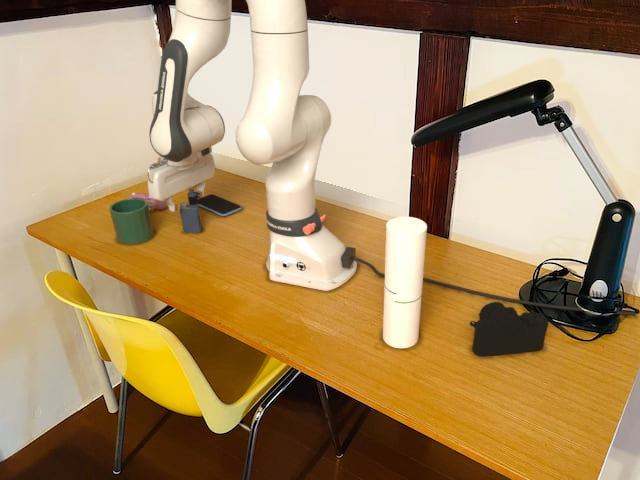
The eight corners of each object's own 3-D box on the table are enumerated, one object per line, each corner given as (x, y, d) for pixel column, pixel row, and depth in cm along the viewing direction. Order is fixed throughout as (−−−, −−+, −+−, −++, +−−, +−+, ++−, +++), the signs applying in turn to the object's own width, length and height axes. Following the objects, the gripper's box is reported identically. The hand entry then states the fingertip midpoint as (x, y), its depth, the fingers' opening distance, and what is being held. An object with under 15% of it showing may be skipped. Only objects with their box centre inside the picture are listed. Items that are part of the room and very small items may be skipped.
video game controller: (133, 213, 158) (121, 198, 152) (140, 201, 160) (128, 186, 154) (162, 217, 155) (151, 202, 149) (168, 205, 157) (158, 190, 152)
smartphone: (211, 193, 164) (243, 206, 156) (212, 195, 165) (243, 209, 157) (191, 200, 160) (223, 214, 151) (191, 203, 160) (223, 217, 152)
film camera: (527, 322, 111) (535, 286, 106) (548, 352, 103) (557, 315, 98) (457, 328, 109) (462, 292, 104) (472, 360, 101) (478, 322, 96)
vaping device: (201, 233, 144) (194, 192, 138) (182, 232, 144) (174, 191, 138) (204, 228, 146) (197, 188, 140) (185, 228, 146) (177, 187, 140)
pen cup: (161, 233, 144) (154, 202, 139) (134, 247, 137) (126, 216, 132) (137, 225, 148) (130, 195, 143) (110, 239, 141) (101, 208, 136)
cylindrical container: (396, 321, 111) (401, 213, 98) (425, 335, 107) (434, 224, 94) (375, 338, 106) (378, 226, 93) (404, 353, 103) (411, 239, 89)
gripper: (155, 169, 125) (165, 221, 132) (216, 144, 140) (222, 192, 147) (136, 163, 127) (148, 215, 135) (198, 140, 143) (205, 187, 150)
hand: (187, 203), depth 141 cm, fingers open, 8 cm apart
